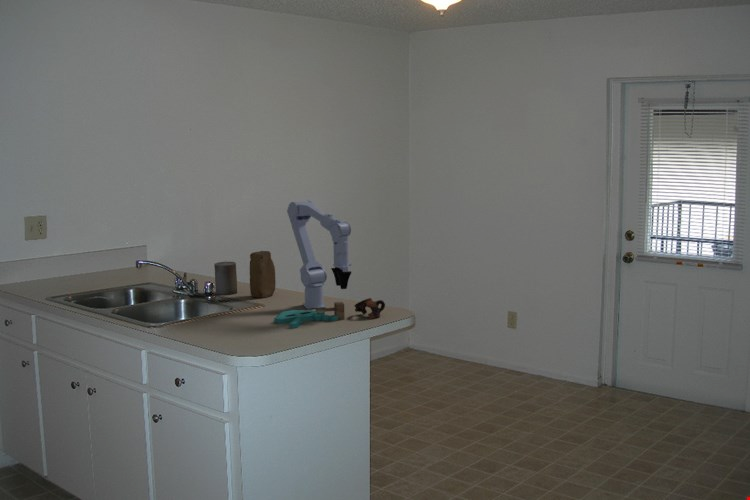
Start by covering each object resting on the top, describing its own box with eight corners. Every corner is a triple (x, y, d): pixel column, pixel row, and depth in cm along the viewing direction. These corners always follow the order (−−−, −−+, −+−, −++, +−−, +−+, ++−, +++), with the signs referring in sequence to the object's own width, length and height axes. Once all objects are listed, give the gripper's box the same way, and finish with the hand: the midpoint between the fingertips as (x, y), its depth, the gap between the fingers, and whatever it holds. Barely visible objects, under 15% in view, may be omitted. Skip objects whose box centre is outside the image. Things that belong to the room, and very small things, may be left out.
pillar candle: (238, 290, 356) (236, 258, 354) (236, 294, 346) (235, 261, 344) (216, 291, 355) (214, 259, 353) (214, 295, 345) (212, 262, 343)
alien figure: (337, 321, 295) (309, 312, 310) (337, 315, 294) (308, 307, 310) (293, 329, 283) (265, 320, 298) (292, 323, 282) (265, 314, 298)
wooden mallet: (315, 319, 297) (315, 303, 296) (342, 317, 300) (341, 301, 299) (317, 321, 293) (317, 305, 292) (344, 319, 296) (344, 304, 295)
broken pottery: (364, 322, 294) (355, 302, 295) (358, 327, 302) (349, 308, 304) (391, 311, 298) (382, 291, 300) (385, 316, 307) (376, 298, 308)
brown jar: (259, 299, 336) (258, 253, 333) (248, 297, 340) (246, 252, 338) (278, 295, 344) (276, 250, 341) (266, 293, 349) (265, 249, 346)
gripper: (355, 255, 298) (355, 289, 300) (346, 250, 312) (346, 283, 314) (337, 256, 296) (338, 290, 298) (329, 251, 310) (329, 284, 312)
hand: (341, 287), depth 306 cm, fingers open, 7 cm apart
